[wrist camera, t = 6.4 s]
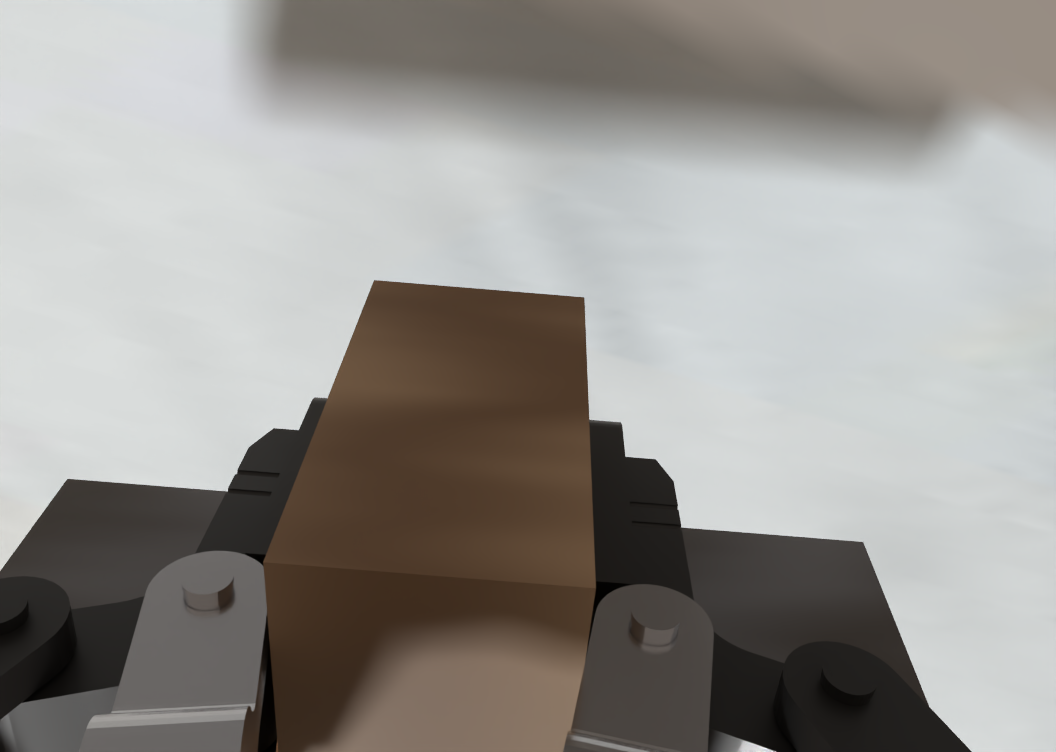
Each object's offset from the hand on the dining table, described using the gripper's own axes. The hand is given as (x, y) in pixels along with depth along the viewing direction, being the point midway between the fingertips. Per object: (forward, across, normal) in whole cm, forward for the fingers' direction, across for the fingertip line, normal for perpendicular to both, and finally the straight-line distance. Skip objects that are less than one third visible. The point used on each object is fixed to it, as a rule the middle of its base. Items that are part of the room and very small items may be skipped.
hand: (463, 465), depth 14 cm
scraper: (+1, 0, 0) cm, 1 cm away
